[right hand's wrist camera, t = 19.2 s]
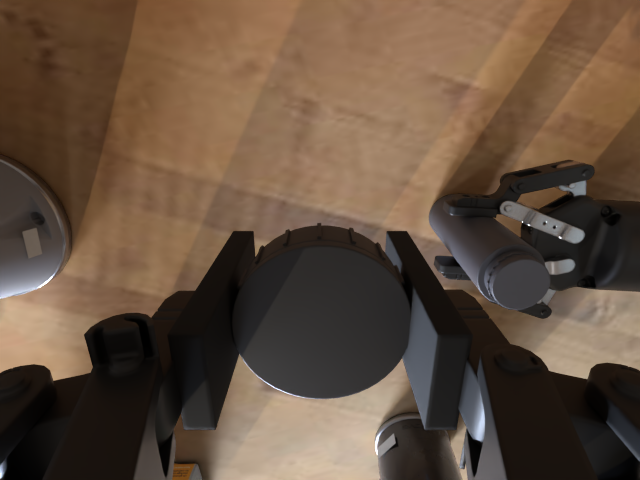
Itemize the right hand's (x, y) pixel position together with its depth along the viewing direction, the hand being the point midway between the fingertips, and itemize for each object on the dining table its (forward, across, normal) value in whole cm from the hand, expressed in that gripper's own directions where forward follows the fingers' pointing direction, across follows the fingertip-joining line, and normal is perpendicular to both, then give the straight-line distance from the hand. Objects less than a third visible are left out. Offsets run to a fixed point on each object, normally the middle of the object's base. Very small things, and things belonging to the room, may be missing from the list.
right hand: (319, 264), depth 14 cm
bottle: (+23, +13, -5) cm, 27 cm away
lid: (-4, 0, 0) cm, 4 cm away
